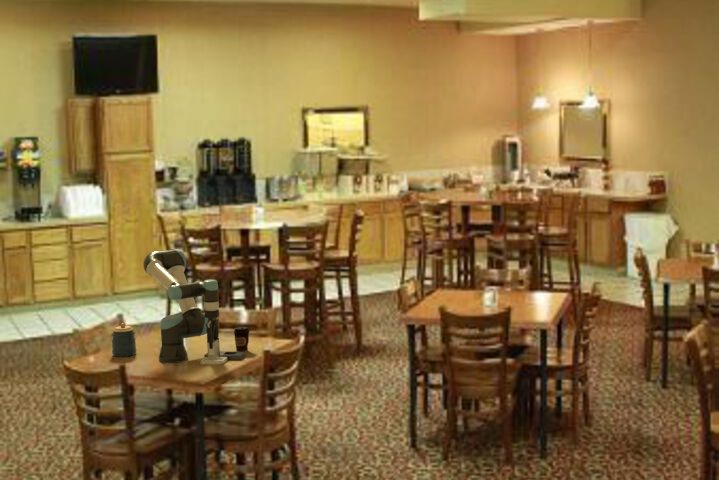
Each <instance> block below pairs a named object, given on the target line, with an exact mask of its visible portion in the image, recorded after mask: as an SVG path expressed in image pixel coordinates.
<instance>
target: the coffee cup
mask: <svg viewBox="0 0 719 480" xmlns="http://www.w3.org/2000/svg"><path fill="white" fill-rule="evenodd" d="M233 334H234V343H235V348H236V351H244V352H245V353H246V352H249V348H248V346H249V340H250V339H249V335H250V329H249V327H248V326H240V327H235V328H234V330H233Z"/></svg>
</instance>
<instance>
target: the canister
mask: <svg viewBox="0 0 719 480" xmlns="http://www.w3.org/2000/svg"><path fill="white" fill-rule="evenodd" d="M110 335H111V337H112V338H111V349H112V351H111V352H112V353H111V355H112V356H113V357H116V358H126V357H127V358H128V357H132V356H136V354H137V346H136V345H137V344H136V336H135V335H136V332H135V331H134V327H132V326H130V325H126V323H124V322H122V323H120V325H119V326H115V327H114V328H113V329H112V333H111V334H110Z"/></svg>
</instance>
